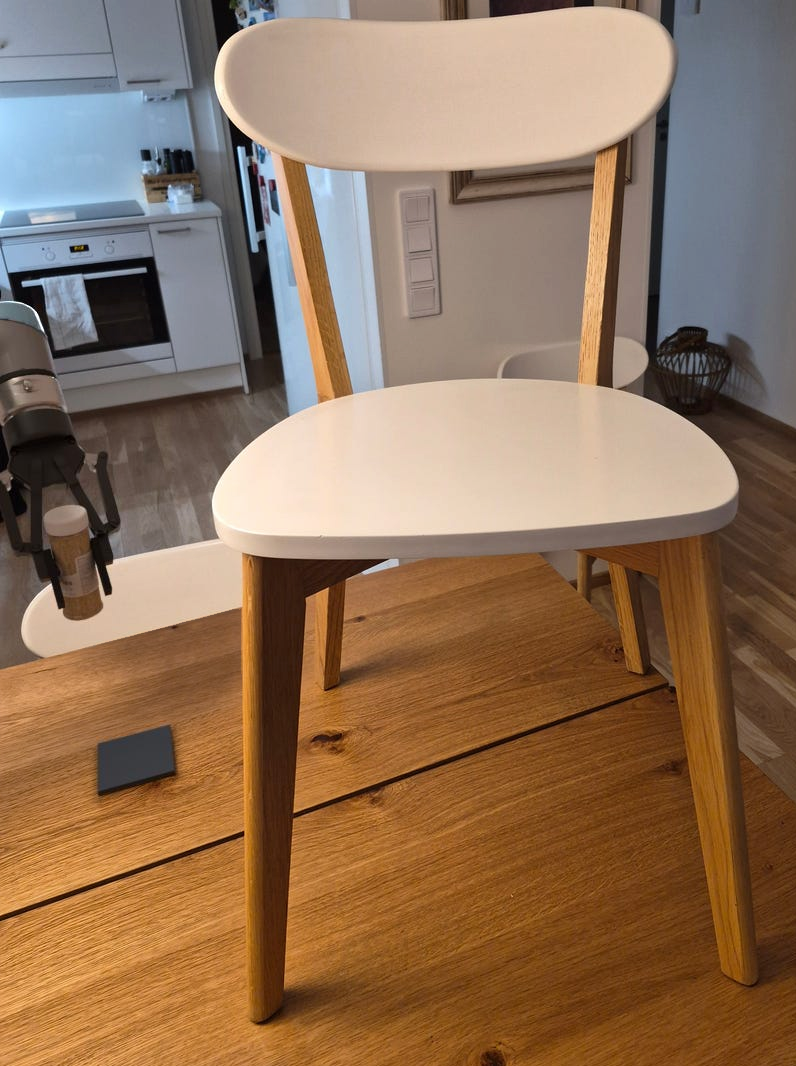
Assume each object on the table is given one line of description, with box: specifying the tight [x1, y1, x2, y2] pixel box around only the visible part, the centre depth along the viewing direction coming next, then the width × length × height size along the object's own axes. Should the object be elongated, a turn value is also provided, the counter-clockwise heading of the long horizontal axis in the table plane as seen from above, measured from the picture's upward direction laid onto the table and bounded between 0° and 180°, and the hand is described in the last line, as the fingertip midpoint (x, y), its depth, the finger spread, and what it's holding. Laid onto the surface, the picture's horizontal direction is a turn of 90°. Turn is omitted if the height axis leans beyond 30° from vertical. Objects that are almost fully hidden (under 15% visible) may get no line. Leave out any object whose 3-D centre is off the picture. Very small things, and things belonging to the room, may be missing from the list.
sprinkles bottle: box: [43, 504, 104, 622], centre depth 100 cm, size 5×5×14 cm
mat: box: [97, 724, 176, 796], centre depth 97 cm, size 8×8×1 cm
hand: (85, 598), depth 98 cm, fingers closed on sprinkles bottle, 4 cm apart
